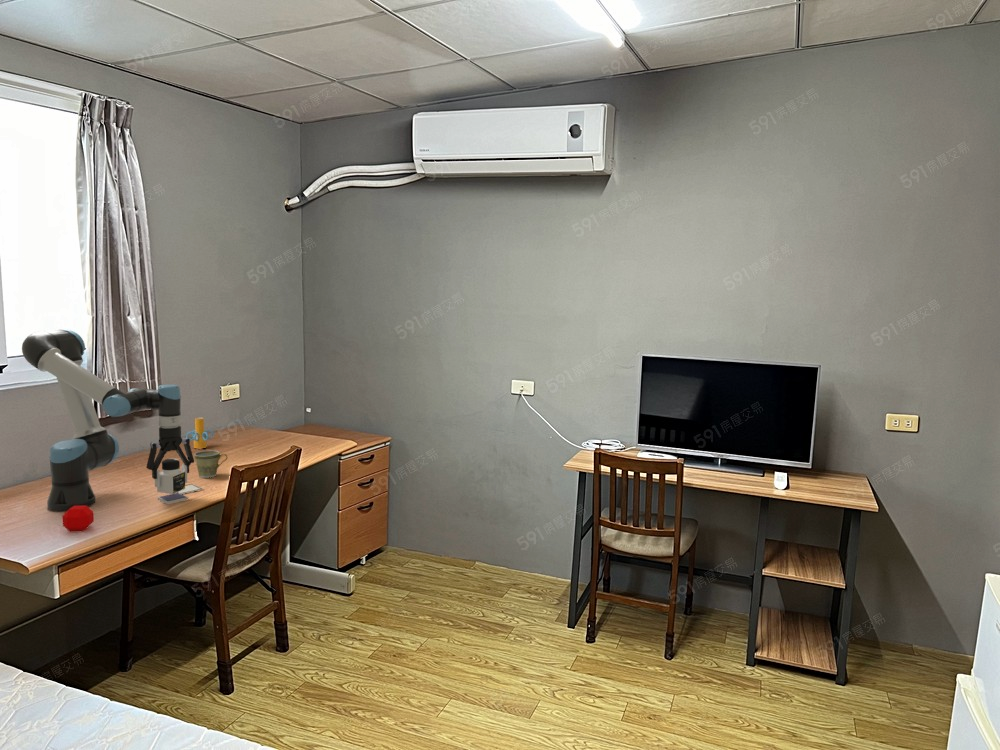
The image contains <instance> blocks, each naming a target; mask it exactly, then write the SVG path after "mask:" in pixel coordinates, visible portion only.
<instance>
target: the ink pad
mask: <svg viewBox="0 0 1000 750" xmlns="http://www.w3.org/2000/svg"><path fill="white" fill-rule="evenodd" d="M187 499H188V500H189V497H188V496H187V495H185V494H183V495H182V494H180V493H175V494H165V495H161V496H158V497H157V501H159V500H160V502H162V503H163V504H165V505H171V504H176V503H180V501H181V502H185V501H184V500H186V501H188V500H187Z"/></svg>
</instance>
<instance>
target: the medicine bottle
mask: <svg viewBox="0 0 1000 750" xmlns="http://www.w3.org/2000/svg"><path fill="white" fill-rule="evenodd" d="M180 462H181V461H180V459H177V458H167V459H166V458H165V459H163V460H162V461H161V472H160V488H157V487H156V492H157V493H161V494H168V495H170V494H175V493H177V492H179V491H181V490H184V489H185V485H186V483H185V471H182V470H181V468H180V467H181V464H180Z"/></svg>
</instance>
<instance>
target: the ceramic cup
mask: <svg viewBox="0 0 1000 750" xmlns="http://www.w3.org/2000/svg"><path fill="white" fill-rule="evenodd" d="M220 452H221V451H218V450H211V449H210V450H201V451H200V450H199V451H197V452H195V453H194V454H193V457H194V462H195V463H196V467H197V473H198V477H199V478H200V477H202V479H212V478H215V477H214V476H216V477H217V473H218V469H219V467H220V466H221V465H223V463H224V462H225V461H227V460H228V455H227V454H226V453H220ZM223 456H224V457H225V459H224V460H222V461H221V463H220V464H219V461H220V460H221V458H222V457H223ZM209 477H210V478H209ZM211 477H212V478H211Z"/></svg>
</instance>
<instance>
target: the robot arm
mask: <svg viewBox="0 0 1000 750" xmlns="http://www.w3.org/2000/svg"><path fill="white" fill-rule="evenodd" d="M85 351H86V343H85V341H84V339H83V338H82V337H81V335H79V334H78V333H77V332H75V331H73V330H71V329H58V330H56V329H55V330H47V331H37V332H33V333H31V334H29V335H28V336H27V337H26V338H25V339H24V340H23V342H22V346H21V353H22V356H23V358H25V360H26V362H27V363H29V365H31V366H32V367H34V368H35V369H36V370H39V371H40V372H43V373H44V372H48V373H50V374H51V375H53V376H54V377H55V378H56V380H57V383H58V385H59V389H60V391H61V394H62V398H63V400H64V403H65V406H66V409H67V412H68V415H69V418H70V421H71V423H72V426H73V427H72V428H73V430H74V432H75V433H74V434H73V437H72V438H70V439H67V440H61V441H59V442H56V443H54V444H53V445H52V446H51V447H50V450H49V464H50V477H51V478H50V479H51V489H50V492H49V496H48V498H47V503H46V504H47V509H48V510H49V511H53V512H67V511H68V510H69V509H70V508H72V507H73V506H85V505H86V506H88V507H89V508H90V507H92V506H93V505H95V504H96V495H95V492H94V491H93V488H92V485H91V484H90V477H89V476H90V475H89V472H91V471H93V470H96V469H99V468H102V467H106V466H107V465H109V464H112V463H113V462H115V460H116V459H117V457H118V455H119V453H120V445H119V442H118V440H117V438H116V437H115V436H113V435H112V434H110V433H108V430H107V428H106V427H103V426H102V425H101V423H100V420H99V418H98V415H97V411H96V408H95V406H94V402H93V401H95V402H96V403H98V404H100V405H102V409H103V411H104V412H105V414H106V415H108V416H109V417H111V418H117V417H124V416H126V415H129V414H132V413H136V412H140V411H143V410H154V411H157V410H158V426H159V427H158V437H159V439H158V441H156V442H155V441H154V442H152V441H151V442H150V445H149V446H150V451H149V455H148V458H147V464H146V469H147V470H149V471H151V478H152V479H153V480H154V487H155V488H156V489H157V488H160V473H161V472H160V470H159V467H160V465H161V464H162V461H163V460H164V457H165V455H166V454H167V452H171V451H176V453H177V454H178V456H179V458H180V459H181V461H182V463H183V464H181V471H185V484H186V483H188V474H189V473H190V466H191V465H192V464H194V462H195V457H194V454H193V452H192V449H191V445H190V442H191V440H190V439H191V438H190V439H188V438H187V437H184V438H182V426H181V424H182V416H181V415H182V414H181V399H182V396H181V395H182V394H181V388H180V386H179V385H177V384H172V383H171V384H160V385H159V386H158V387H157V389H151V388H142V387H136V388H135V387H133V388H130V389H129V390H128V391H127V392H124V391H121V390H120V389H118V388H117V387H115V386H114V385H111V384H110V383H108V382H107V381H105V380H103V379H102V378H100V377H98V376H97V375H96V374H94V373H92V372H91V371H89V370H88V369H86V368H85V367H82V363H83V362H84V359H83V355H84V354H85ZM182 444H183V448H184V451H185V454H184V452H183V450H182V448H181V446H180V445H182ZM159 446H160V449H159V450H158V448H159ZM157 450H158V451H159V452H158V454H157ZM156 455H157V456H156Z"/></svg>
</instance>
